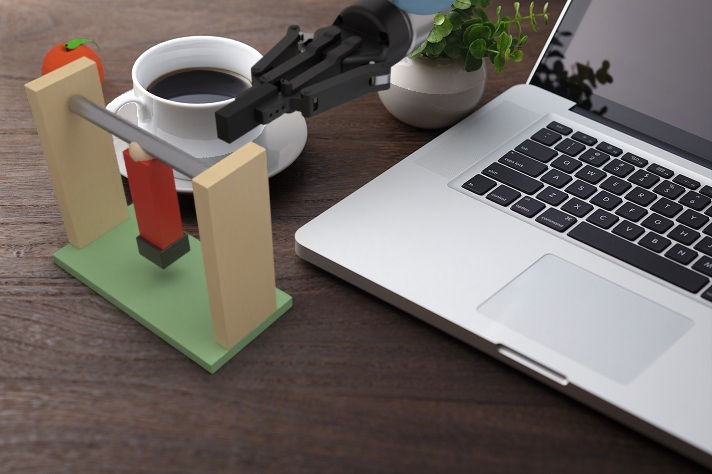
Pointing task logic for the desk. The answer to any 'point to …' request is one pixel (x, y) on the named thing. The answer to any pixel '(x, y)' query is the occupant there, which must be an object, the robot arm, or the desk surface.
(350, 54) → the robot arm
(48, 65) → the clementine
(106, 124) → the pendulum
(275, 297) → the frame
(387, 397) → the desk surface
